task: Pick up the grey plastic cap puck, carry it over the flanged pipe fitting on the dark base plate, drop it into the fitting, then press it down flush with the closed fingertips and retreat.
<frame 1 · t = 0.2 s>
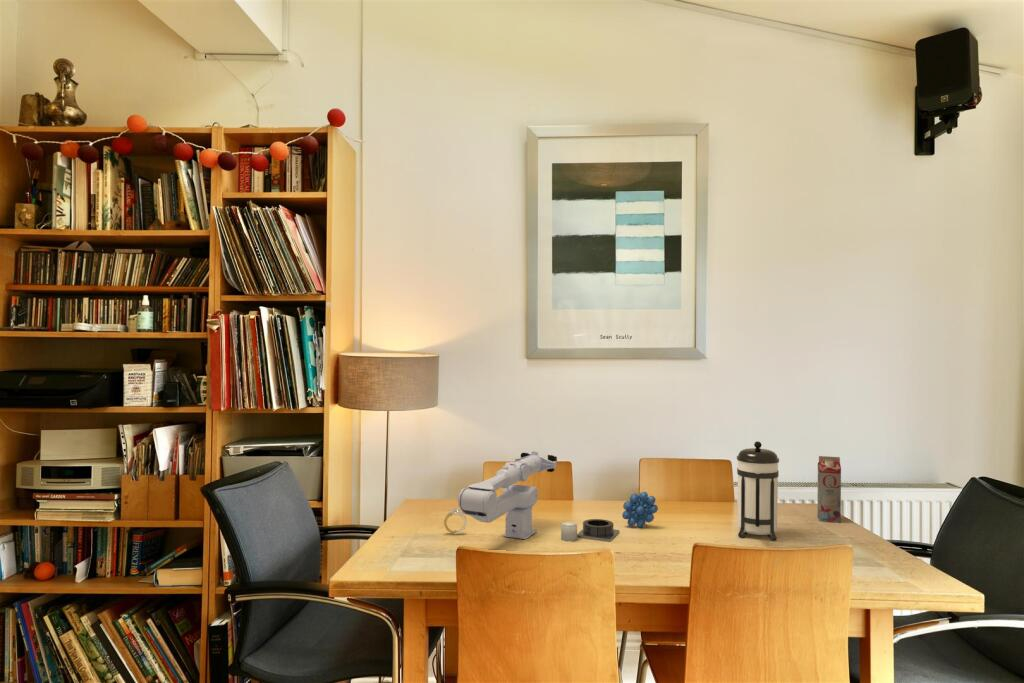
hand: (545, 458, 235), 21 cm above the table, tool horizontal, fingers open, 7 cm apart
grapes: (639, 527, 227), on the table
juice carton: (828, 520, 236), on the table
coffee press: (758, 536, 216), on the table
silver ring: (455, 534, 217), on the table
cap: (569, 539, 213), on the table
flanged pipe fitting: (598, 534, 217), on the table
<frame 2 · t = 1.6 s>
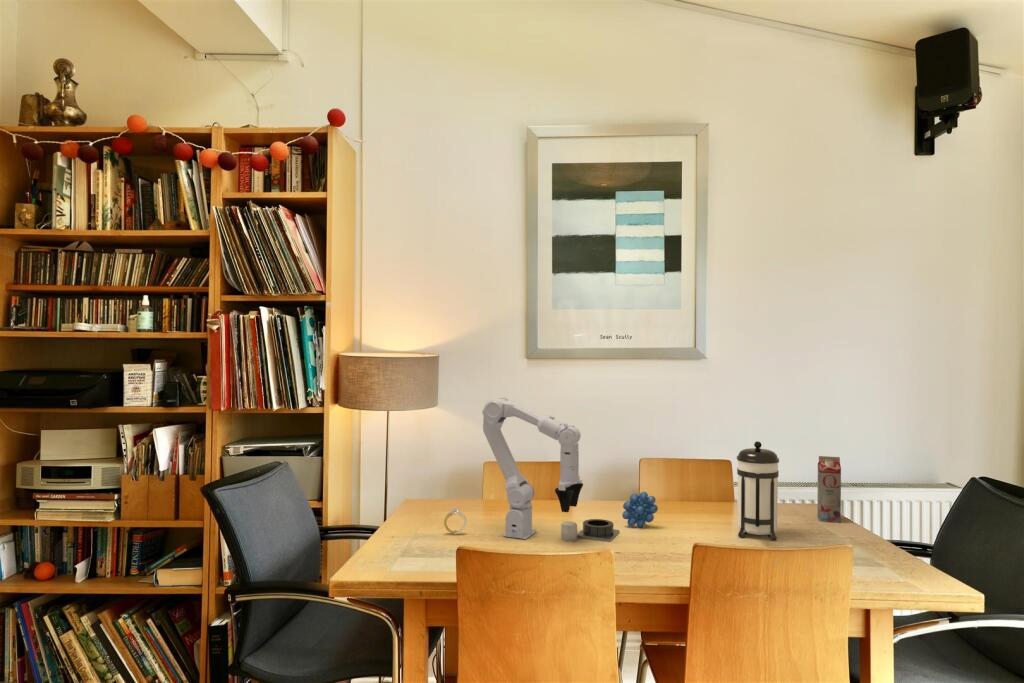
hand: (569, 508, 212), 9 cm above the table, tool pointing down, fingers open, 7 cm apart
nothing on the table moved.
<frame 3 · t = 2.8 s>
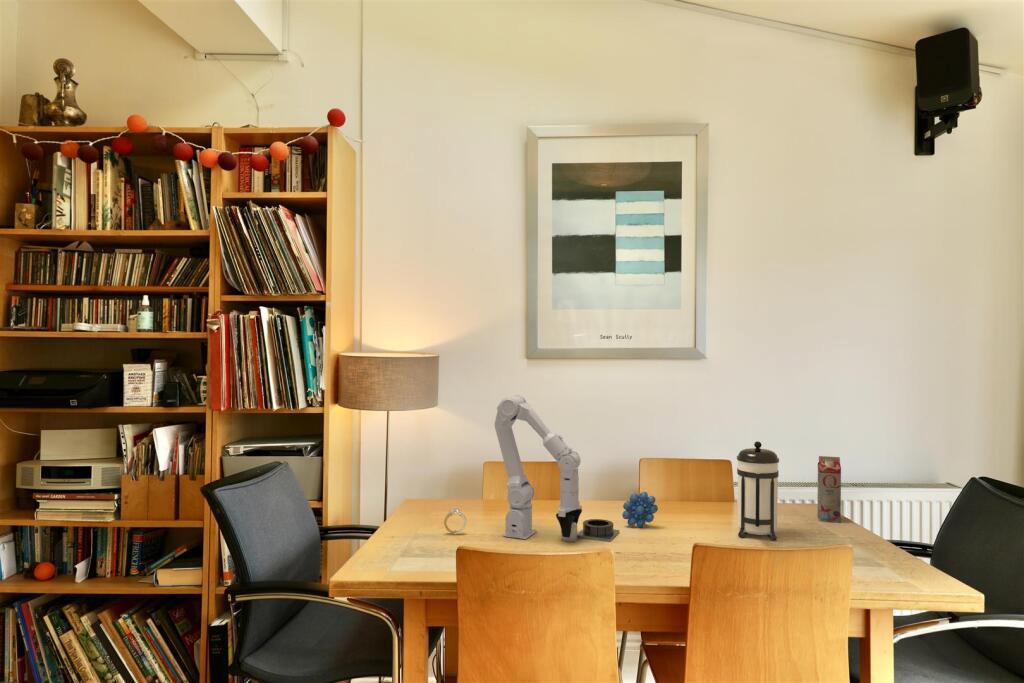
hand: (569, 534, 212), 1 cm above the table, tool pointing down, fingers closed on cap, 5 cm apart
cap: (569, 539, 213), on the table, touching gripper
everything else where it was.
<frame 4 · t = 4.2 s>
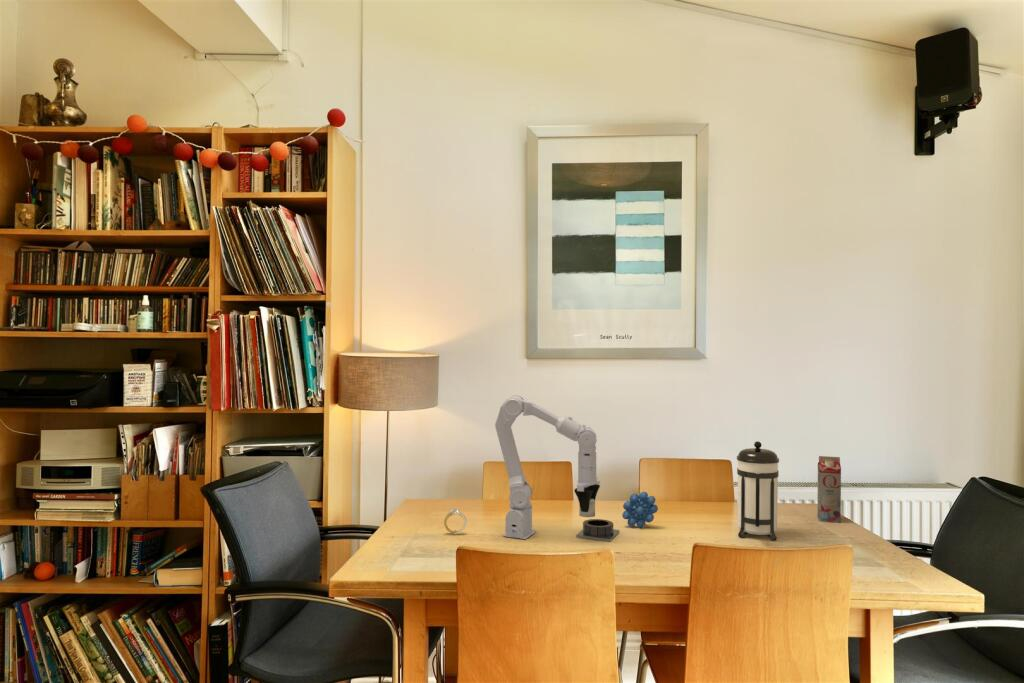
hand: (587, 509, 215), 9 cm above the table, tool pointing down, fingers closed on cap, 5 cm apart
cap: (587, 515, 215), point 7 cm above the table, touching gripper
everything else where it was.
when the fingers open (5 cm above the table, at t = 5.7 s): cap drops 2 cm, resting on flanged pipe fitting.
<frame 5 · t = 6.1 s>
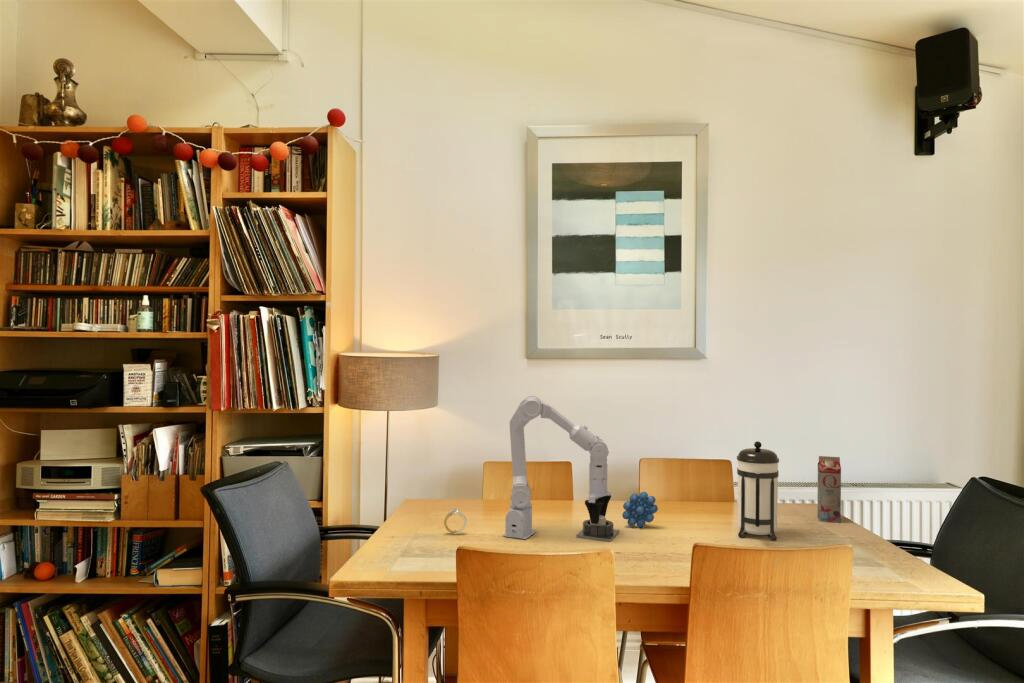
hand: (598, 520, 217), 5 cm above the table, tool pointing down, fingers open, 7 cm apart
cap: (597, 532, 217), point 1 cm above the table, touching flanged pipe fitting
everything else where it was.
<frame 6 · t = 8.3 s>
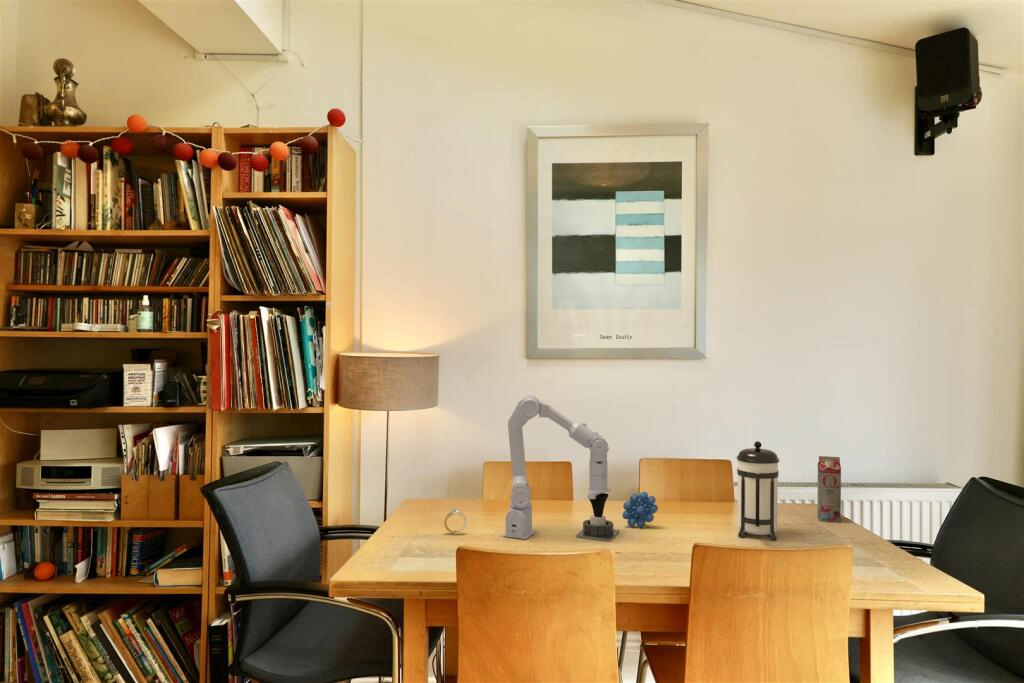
hand: (598, 516, 217), 6 cm above the table, tool pointing down, fingers closed, pressing on cap
cap: (597, 532, 217), point 1 cm above the table, touching flanged pipe fitting, gripper
everything else where it was.
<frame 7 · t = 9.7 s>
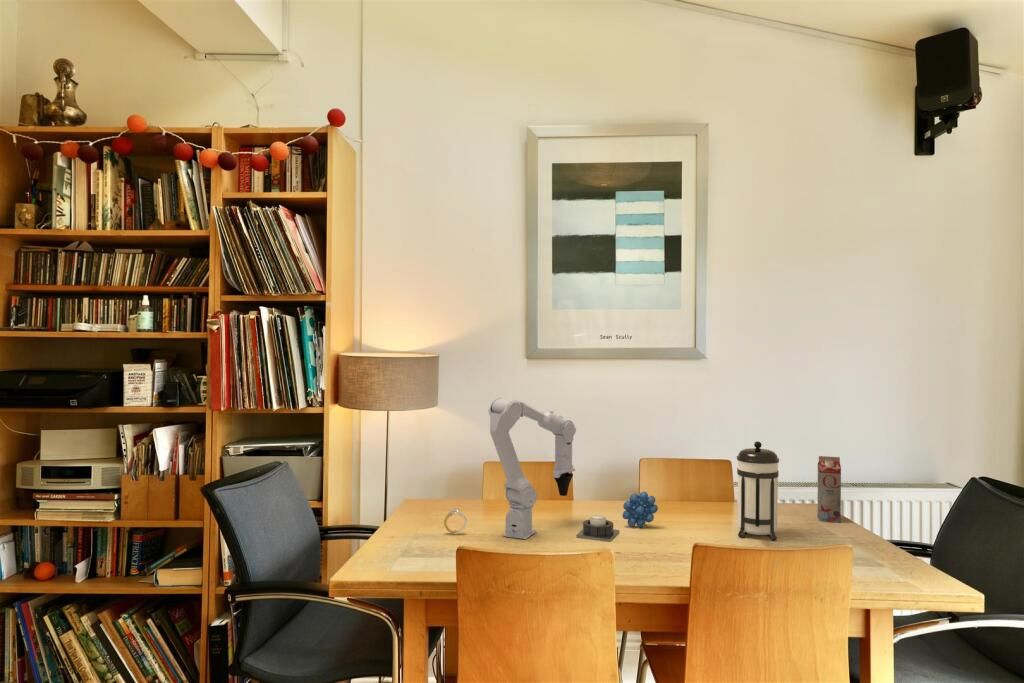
hand: (563, 495, 229), 10 cm above the table, tool pointing down, fingers closed
cap: (597, 532, 217), point 1 cm above the table, touching flanged pipe fitting
everything else where it was.
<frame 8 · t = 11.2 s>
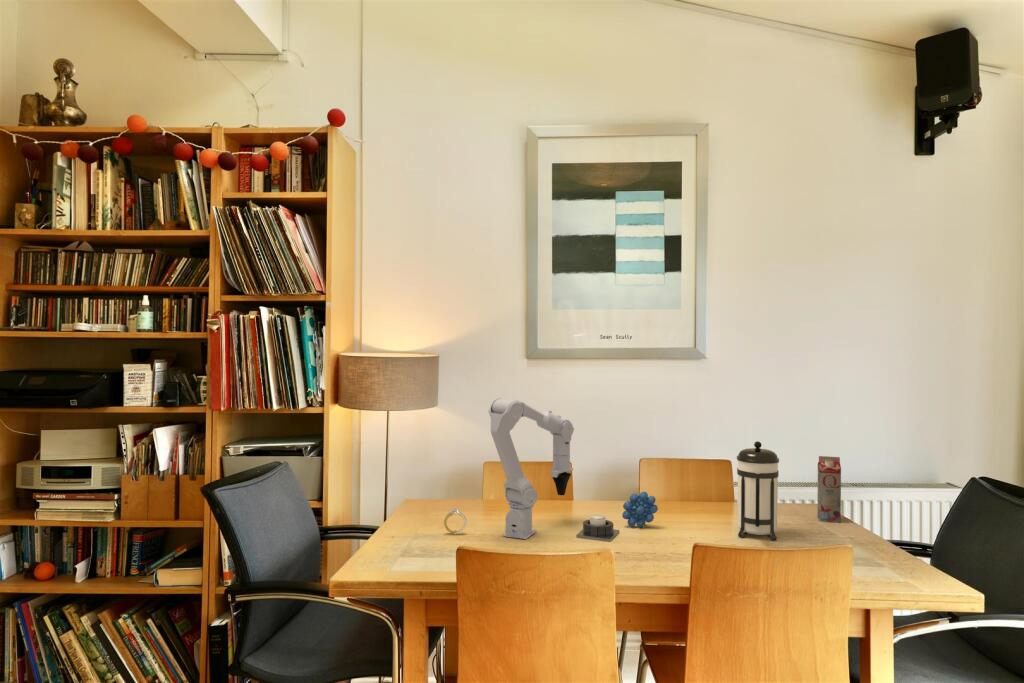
hand: (561, 494, 229), 10 cm above the table, tool pointing down, fingers closed
nothing on the table moved.
at the end: cap 0.1 cm off-centre on the flanged pipe fitting, point 0.9 cm above the flanged pipe fitting's base; cap tilted 2°; the gripper is holding nothing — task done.
